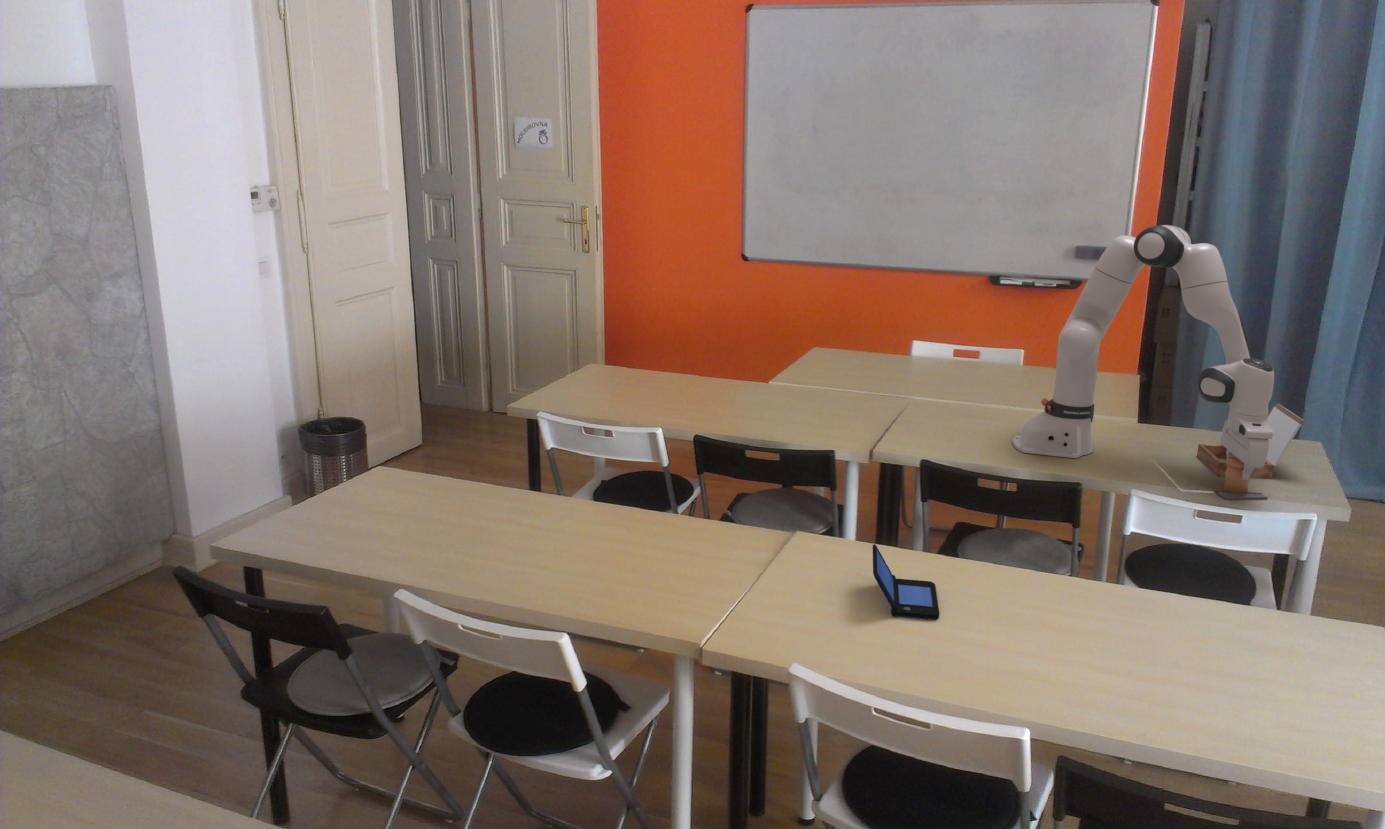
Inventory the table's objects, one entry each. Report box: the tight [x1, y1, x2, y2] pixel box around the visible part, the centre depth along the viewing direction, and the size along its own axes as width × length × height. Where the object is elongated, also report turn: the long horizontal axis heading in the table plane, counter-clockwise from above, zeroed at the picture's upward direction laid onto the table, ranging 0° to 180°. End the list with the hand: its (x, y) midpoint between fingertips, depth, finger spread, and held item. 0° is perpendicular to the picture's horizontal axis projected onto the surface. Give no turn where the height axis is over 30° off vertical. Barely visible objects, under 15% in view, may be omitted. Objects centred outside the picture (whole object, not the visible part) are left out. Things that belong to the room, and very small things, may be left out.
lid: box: [1266, 402, 1306, 467], centre depth 282 cm, size 14×16×1 cm
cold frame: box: [1196, 443, 1275, 480], centre depth 285 cm, size 14×16×4 cm
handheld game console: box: [872, 543, 940, 621], centre depth 207 cm, size 16×13×9 cm
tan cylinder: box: [1223, 457, 1250, 494], centre depth 268 cm, size 6×6×8 cm
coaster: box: [1213, 490, 1269, 501], centre depth 270 cm, size 11×11×1 cm
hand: (1237, 472), depth 268 cm, fingers open, 8 cm apart
